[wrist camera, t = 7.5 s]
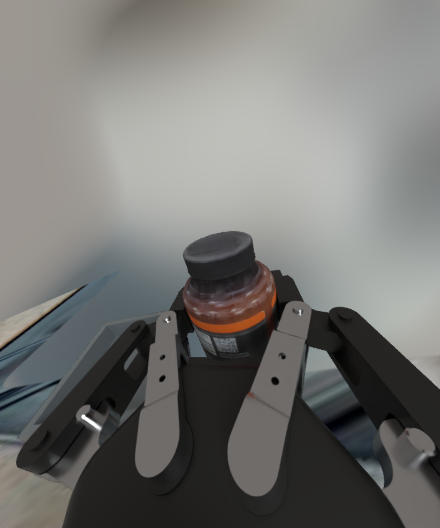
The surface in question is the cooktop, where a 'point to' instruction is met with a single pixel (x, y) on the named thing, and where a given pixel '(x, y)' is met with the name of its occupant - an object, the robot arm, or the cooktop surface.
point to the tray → (84, 364)
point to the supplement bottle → (230, 296)
